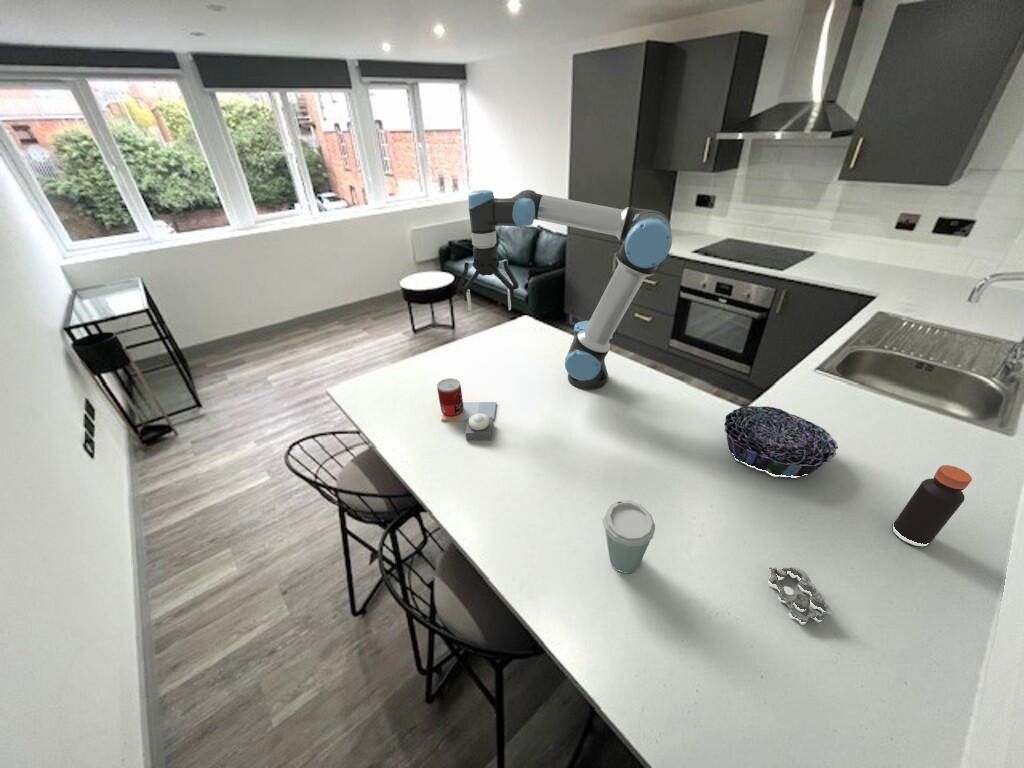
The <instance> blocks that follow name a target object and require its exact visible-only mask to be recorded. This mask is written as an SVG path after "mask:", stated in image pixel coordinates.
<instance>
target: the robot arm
mask: <svg viewBox="0 0 1024 768" xmlns="http://www.w3.org/2000/svg"><path fill="white" fill-rule="evenodd" d="M468 215H469V220H470V221H469V222H470V231H471V232H470V234H471V243H472V246H473V247H472V253H473V261H469V260H468V259H466V260H465V261H464V265H463V266H464V268H463V272H462V273H461V274H462V275H461V278H460V279H459V282H458V285H457V288H456V289H457V291H459V292H460V291H461V292H462V293H463V294H462V295H463V301H464V302H467V309H468V312H471V311H472V300H471V299H472V298H471V290H470V289H469V288H470V287H471V286H472V284H473V283H474V282H475V280H476V279H477V278H478V277H479V275H481V276H493V275H494V276H495V277H496V278H498V280H500V282H501V283H502V284H503V285H504V286H505V287H506V288H507V307H508V311H511V310H512V301H513V300H514V299H515V292H514V291H515V290H518V289H519V286H520V284H519V282H518V280H517V278H516V276H515V275H514V273H513V271H512V269H511V268H510V266H509V261H508V259H506V258H504V259H503V260H499V259H498V248H497V247H498V246H497V245H496V244H497V231H496V230H497V229H496V227H497V226H498V227H500V226H501V227H503V226H504V227H520V228H523V227H530V226H532V225H533V224H534V221H535V220H536V221H541V222H547V223H551V224H557V225H562V226H566V227H571V228H575V229H576V228H577V229H580V230H585V231H590V232H596V233H601V234H605V235H610V236H614V237H616V238H617V239H618V240H619V241H623V243H622V244H621V247H620V249H619V251H618V253H617V254H616V257H615V258H616V260H617V266H616V268H615V270H614V271H613V274H612V276H611V278H610V280H609V282H608V284H607V286H606V287H605V290H604V292H603V294H602V295H601V298H600V300H599V302H598V304H597V306H596V307H595V309H594V311H593V314H591V317H590V319H589V320H582V321H579V322H577V323H575V325H574V328H573V339H572V343H571V345H570V347H569V350H568V352H567V355H566V356H565V358H564V359H565V360H564V367H565V370H566V372H567V381H568V382H569V384H571V386H574V387H576V388H578V389H582V390H595V389H599V388H602V387H604V386H606V385H607V383H608V379H609V373H608V369H607V366H606V363H605V359H606V357H607V356H608V353H609V351H610V350H611V345H610V340H611V338H612V336H613V335H614V333H615V332H616V330H617V328H618V326H619V324H620V323H621V322H622V321H621V320H622V319H623V317H624V316H625V314H626V312H627V311H628V309H629V307H630V305H631V303H632V302H633V300H634V298H635V296H636V295H637V293H638V291H639V289H640V287H641V286H642V284H643V282H644V280H645V279H646V278H647V277H650V276H653V275H654V274H655V272H656V270H657V269H658V266H659V265H660V264H661V263H662V262H663V261H664V260H665V259H666V257H668V255H669V253H670V251H671V248H672V245H673V243H672V242H673V235H672V228H671V223H670V220H669V218H667V216H665V214H663V213H662V212H660V211H656V210H652V209H645V208H636V207H631V206H627V207H625V208H623V209H621V208H616V207H610V206H606V205H601V204H594V203H589V202H583V201H578V200H573V199H567V198H562V197H558V196H552V195H546V194H541V193H537V192H536V191H535V190H532V189H525V190H521V191H520V192H519V193H517V194H516V195H514V196H512V197H510V198H509V197H508V198H507V197H505V198H500V197H499V198H496V197H495V196H494V192H493V191H492V190H488V189H482V190H481V189H479V190H474V191H471V192H469V193H468ZM499 266H501V268H504V271H505V273H506V274H507V276H508V278H509V280H508V279H507V278H506V277H505V276H504V274H502V273H501V271H500V269H499ZM471 268H474V269H475V272H474V273H473V274H472V275H471V277H470V279H469V280H468V281H467V282H466V284H465V286H463V285H464V283H465V280H466V277H467V275H468V272H469V270H470V269H471Z"/></svg>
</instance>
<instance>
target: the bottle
mask: <svg viewBox="0 0 1024 768" xmlns="http://www.w3.org/2000/svg"><path fill="white" fill-rule="evenodd" d="M972 481H973V477H972V476H971V475H970V474H969V472H968V471H965V470H964V469H961V468H960V467H957V466H953V465H949V464H943V465H941V466H939V467H938V468H937V470H936V472H935V474H934V476H933V478H931V477H930V478H927V479H924V480H922V481H921V483H920V484H919V485H918V487H917V488H916V490H915V491H914V493H913V495H912V496H911V497H910V498H909V500H908V502H907V503H906V504H905V506H904V507H903V509H902V510H901V512H900V514H898V516H897V518H896V519H895V521H894V522H893V523H894V527H895V529H896V530H897V531H898V532H899V533H900V534H901V535H902V536H904V537H906V538H907V539H909V540H912V541H914V542H917V543H921V544H922V543H923V544H927V543H930V542H931V543H932V542H933V541H934V539H936V537H937V535H938V534H939V533H940V532H941V530H942V529H944V526H946V524H947V523H948V522H949V521H950V519H951V518H952V516H953V515H955V513H956V512H957V510H958V509H959V508H960V506H962V504H963V503H964V501H965V494H964V492H963V491H964V490H965V489H966V488H967V487H968V486H969V485H970V483H971V482H972ZM931 543H930V544H931Z"/></svg>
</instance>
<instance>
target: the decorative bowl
mask: <svg viewBox="0 0 1024 768" xmlns="http://www.w3.org/2000/svg"><path fill="white" fill-rule="evenodd" d="M723 425H724V432H725V435H726V440H727V445H728V450H730V451H729V453H730V454H731V453H733V454H734V456H735V458H736V459H738V460H739V461H742V462H745V463H747V464H748V465H751V466H755V467H756V468H758V469H762V470H766V471H768V472H769V473H772V474H775V475H781V474H782V475H786V476H791V475H793V476H801V477H803V476H802V475H804V474H810V473H811V474H813V473H814V472H815V471H816V470H818V469H820V468H821V467H822V466H824V465H825V464H827V463H830V462H831V460H832V459H833V458H835V457H836V455H837V452H836V451H837V450H838V449H839V445H838V443H837V440H835V439H834V438H833V437H832V436H831V434H830V433H829V432H828V431H827V430H826V429H825V428H824V427H821V426H819V425H817V424H815V423H814V422H811V421H809V420H807V419H805V418H802V417H800V416H798V415H797V414H791V413H789V412H787V411H786V410H783V409H781V408H777V407H773V406H756V405H755V406H753V405H750V406H747V405H745V406H741V407H739V408H736V409H734V410H733V411H730V412H729V413H728V414H727V415H725V422H724V424H723ZM734 456H733V457H734ZM735 458H734V459H735ZM811 474H810V475H811Z"/></svg>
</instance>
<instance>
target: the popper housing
mask: <svg viewBox="0 0 1024 768" xmlns="http://www.w3.org/2000/svg"><path fill="white" fill-rule="evenodd" d="M493 430H494V421H493V417H489V425H488V427H486V428H485V429H482V430H474V429H472V428H471V427H470V426H469V419H468V421H467V426H466V428H465V440H466V441H492V437H493V433H494V432H493Z"/></svg>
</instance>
